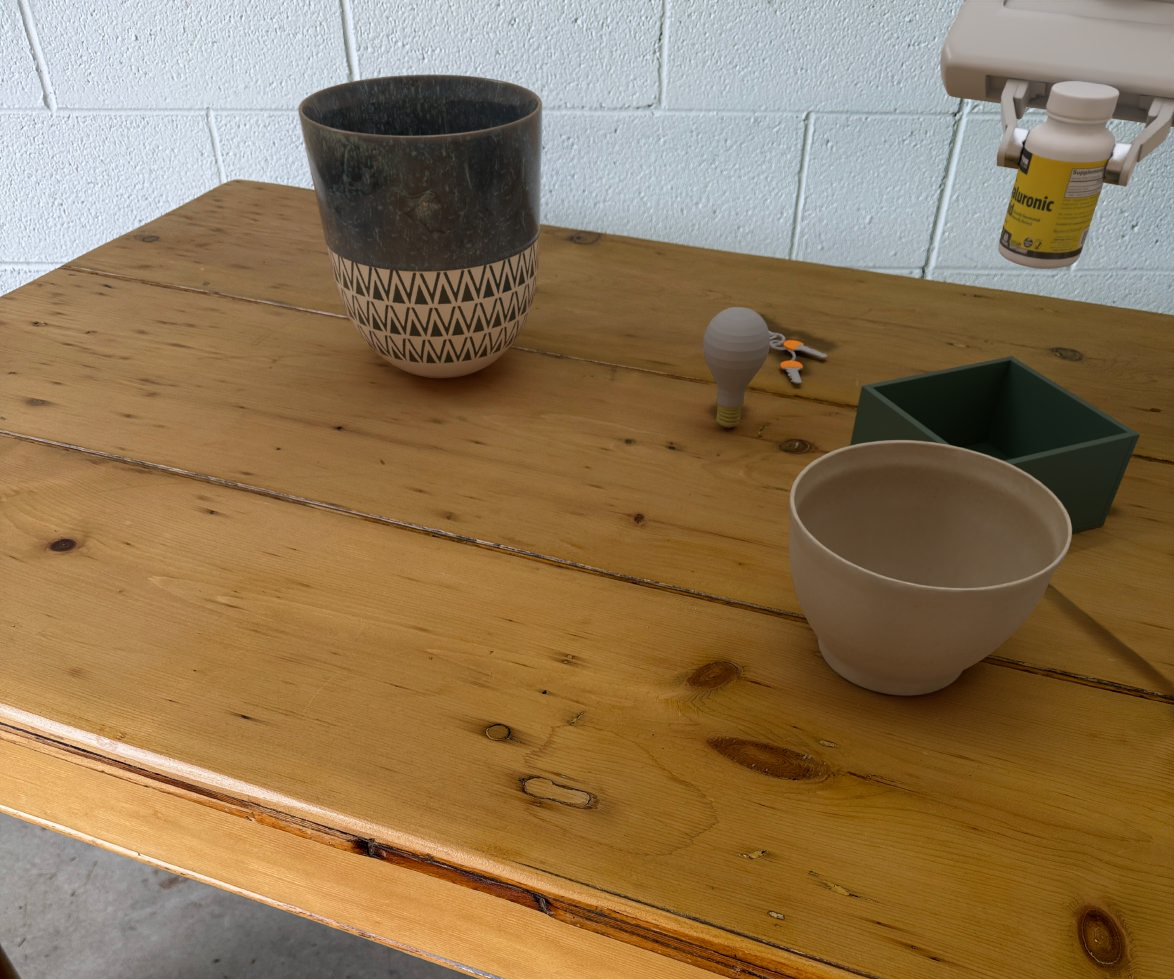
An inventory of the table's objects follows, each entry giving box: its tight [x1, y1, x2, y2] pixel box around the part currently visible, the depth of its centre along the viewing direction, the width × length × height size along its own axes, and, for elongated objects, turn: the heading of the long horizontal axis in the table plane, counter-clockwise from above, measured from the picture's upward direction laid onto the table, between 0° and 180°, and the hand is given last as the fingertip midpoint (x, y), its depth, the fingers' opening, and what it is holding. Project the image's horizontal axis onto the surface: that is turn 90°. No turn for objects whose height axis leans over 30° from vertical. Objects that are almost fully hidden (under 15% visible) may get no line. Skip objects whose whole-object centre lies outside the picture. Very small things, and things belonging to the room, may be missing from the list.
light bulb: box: [702, 306, 771, 429], centre depth 88 cm, size 6×6×10 cm
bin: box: [849, 355, 1141, 535], centre depth 80 cm, size 14×14×8 cm
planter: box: [297, 73, 543, 379], centre depth 92 cm, size 20×20×21 cm
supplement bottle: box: [997, 81, 1119, 270], centre depth 68 cm, size 5×5×10 cm
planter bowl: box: [788, 440, 1073, 696], centre depth 65 cm, size 16×16×11 cm
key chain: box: [769, 330, 828, 385], centre depth 101 cm, size 13×7×1 cm, turn 36°
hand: (1061, 171), depth 67 cm, fingers closed on supplement bottle, 5 cm apart
